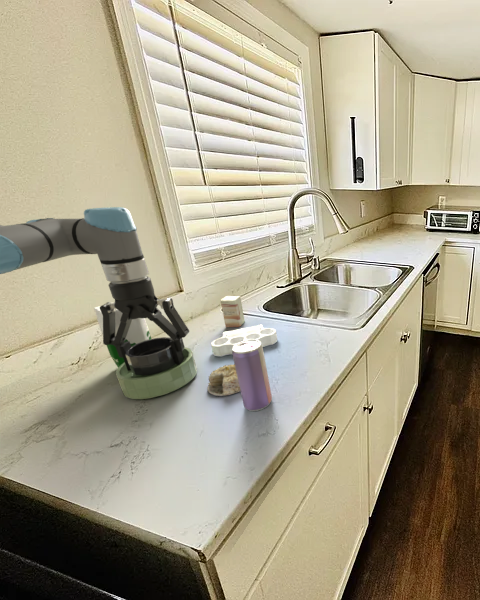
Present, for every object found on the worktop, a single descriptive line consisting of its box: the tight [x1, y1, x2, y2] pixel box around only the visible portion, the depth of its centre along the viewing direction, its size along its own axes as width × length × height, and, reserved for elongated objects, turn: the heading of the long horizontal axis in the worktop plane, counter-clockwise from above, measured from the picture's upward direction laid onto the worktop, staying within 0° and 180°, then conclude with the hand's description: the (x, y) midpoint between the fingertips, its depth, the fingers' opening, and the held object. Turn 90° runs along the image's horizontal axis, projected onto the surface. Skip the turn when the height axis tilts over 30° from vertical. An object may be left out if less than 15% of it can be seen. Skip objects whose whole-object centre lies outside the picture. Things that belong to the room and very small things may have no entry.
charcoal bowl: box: [125, 336, 176, 375], centre depth 80 cm, size 10×10×6 cm
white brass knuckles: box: [210, 324, 278, 357], centre depth 100 cm, size 3×18×15 cm
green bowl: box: [115, 347, 198, 400], centre depth 81 cm, size 15×15×6 cm
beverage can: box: [231, 340, 273, 412], centre depth 71 cm, size 6×6×15 cm
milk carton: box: [93, 301, 152, 368], centre depth 86 cm, size 9×9×20 cm
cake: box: [206, 363, 241, 397], centre depth 80 cm, size 10×10×5 cm
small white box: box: [220, 295, 246, 328], centre depth 112 cm, size 5×4×10 cm
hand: (156, 364), depth 81 cm, fingers closed on charcoal bowl, 10 cm apart
